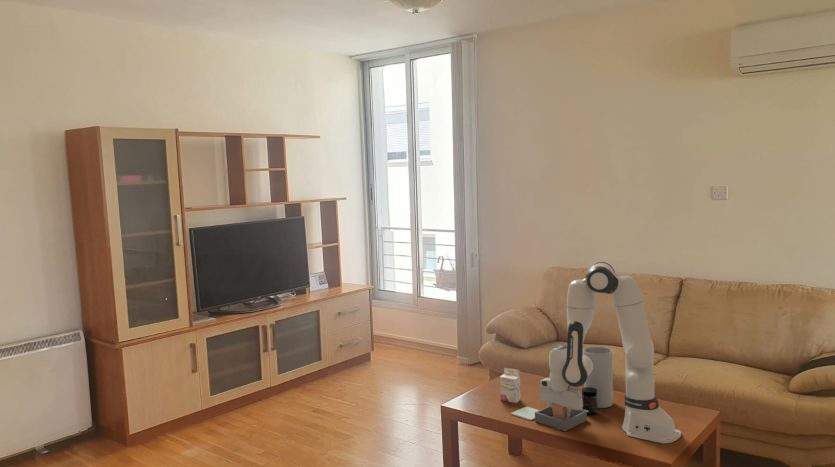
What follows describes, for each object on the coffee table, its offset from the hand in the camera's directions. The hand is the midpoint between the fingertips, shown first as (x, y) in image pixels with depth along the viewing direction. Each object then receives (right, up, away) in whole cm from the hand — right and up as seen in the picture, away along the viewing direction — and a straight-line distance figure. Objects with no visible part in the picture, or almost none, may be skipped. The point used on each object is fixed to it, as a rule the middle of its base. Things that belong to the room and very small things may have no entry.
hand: (561, 414), depth 265 cm
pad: (-12, -2, +9) cm, 16 cm away
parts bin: (0, -3, 0) cm, 3 cm away
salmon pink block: (0, -2, 0) cm, 2 cm away
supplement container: (+14, -2, +8) cm, 17 cm away
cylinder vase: (+21, 0, +18) cm, 28 cm away
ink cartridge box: (-18, -1, +27) cm, 33 cm away
